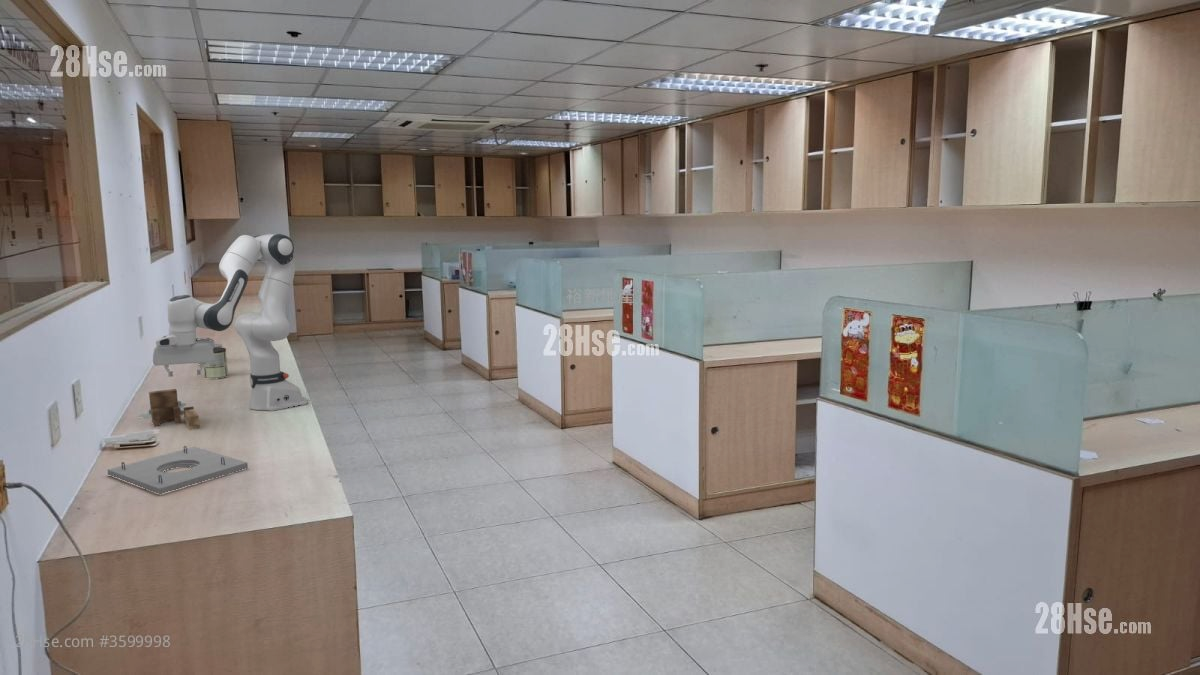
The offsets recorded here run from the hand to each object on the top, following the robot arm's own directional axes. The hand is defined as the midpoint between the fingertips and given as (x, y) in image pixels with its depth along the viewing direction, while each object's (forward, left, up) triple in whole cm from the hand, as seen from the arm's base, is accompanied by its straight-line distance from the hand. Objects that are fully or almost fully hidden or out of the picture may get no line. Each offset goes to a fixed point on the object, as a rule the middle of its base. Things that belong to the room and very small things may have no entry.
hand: (185, 375), depth 280 cm
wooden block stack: (+7, -9, -19) cm, 22 cm away
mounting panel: (+10, +58, -20) cm, 62 cm away
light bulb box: (-26, -124, -20) cm, 128 cm away
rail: (-1, +1, -19) cm, 19 cm away
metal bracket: (+6, -22, -20) cm, 30 cm away
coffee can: (-23, -87, -20) cm, 92 cm away
